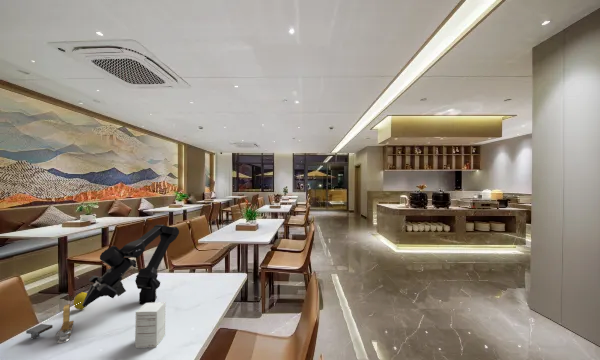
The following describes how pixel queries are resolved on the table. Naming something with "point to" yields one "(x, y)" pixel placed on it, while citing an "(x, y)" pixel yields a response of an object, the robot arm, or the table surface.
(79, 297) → the lemon
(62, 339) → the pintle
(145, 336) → the supplement box
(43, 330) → the block
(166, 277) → the table surface
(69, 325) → the link
